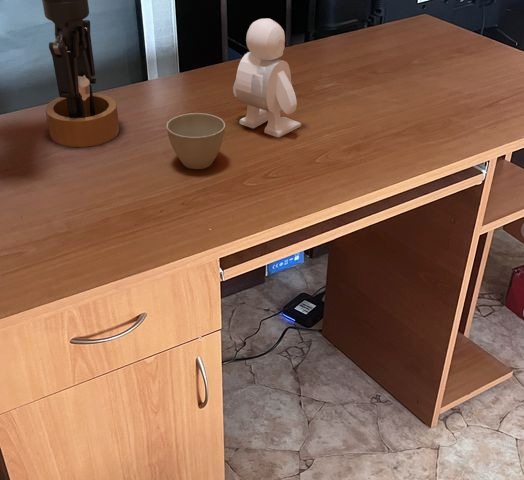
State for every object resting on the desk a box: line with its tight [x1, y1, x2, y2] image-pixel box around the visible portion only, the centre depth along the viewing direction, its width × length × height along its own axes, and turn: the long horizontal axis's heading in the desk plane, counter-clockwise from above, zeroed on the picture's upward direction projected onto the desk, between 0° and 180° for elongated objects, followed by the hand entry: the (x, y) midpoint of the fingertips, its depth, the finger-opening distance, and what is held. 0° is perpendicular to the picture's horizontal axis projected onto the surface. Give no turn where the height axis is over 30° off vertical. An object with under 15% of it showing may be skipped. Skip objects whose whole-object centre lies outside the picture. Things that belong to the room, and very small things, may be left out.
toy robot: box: [232, 18, 302, 138], centre depth 143 cm, size 14×9×20 cm, turn 51°
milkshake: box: [78, 75, 91, 117], centre depth 144 cm, size 4×5×10 cm
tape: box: [44, 92, 120, 148], centre depth 146 cm, size 13×13×5 cm
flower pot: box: [165, 112, 226, 170], centre depth 136 cm, size 10×10×7 cm
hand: (83, 124), depth 147 cm, fingers closed on milkshake, 4 cm apart
